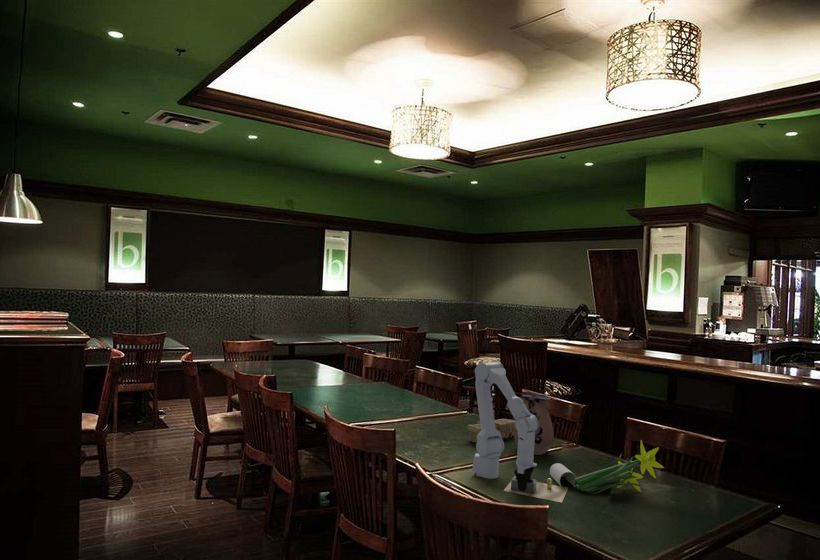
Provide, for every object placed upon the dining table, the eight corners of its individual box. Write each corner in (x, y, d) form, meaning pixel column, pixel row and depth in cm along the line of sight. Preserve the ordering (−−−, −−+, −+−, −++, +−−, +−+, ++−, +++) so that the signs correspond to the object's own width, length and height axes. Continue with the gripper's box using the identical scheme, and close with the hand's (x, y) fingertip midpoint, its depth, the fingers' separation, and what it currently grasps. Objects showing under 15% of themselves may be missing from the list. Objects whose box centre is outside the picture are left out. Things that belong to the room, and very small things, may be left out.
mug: (545, 474, 214) (555, 484, 202) (554, 459, 215) (565, 468, 203) (567, 487, 214) (578, 498, 202) (576, 472, 215) (588, 482, 203)
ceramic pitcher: (508, 453, 246) (511, 396, 246) (521, 442, 264) (524, 390, 265) (547, 460, 237) (550, 402, 238) (558, 449, 256) (561, 395, 256)
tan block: (504, 434, 281) (466, 441, 261) (505, 418, 281) (467, 423, 262) (516, 438, 275) (479, 445, 255) (517, 421, 276) (480, 427, 256)
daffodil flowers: (561, 486, 209) (637, 458, 219) (584, 519, 198) (663, 489, 208) (567, 457, 200) (647, 430, 210) (592, 491, 188) (675, 460, 198)
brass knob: (546, 489, 199) (546, 478, 199) (547, 487, 200) (547, 477, 200) (551, 490, 198) (551, 479, 198) (552, 488, 199) (552, 478, 199)
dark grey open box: (510, 489, 196) (511, 479, 196) (513, 485, 201) (514, 475, 201) (533, 494, 193) (534, 484, 193) (536, 489, 197) (536, 479, 197)
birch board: (503, 494, 194) (503, 490, 195) (513, 481, 209) (513, 477, 209) (561, 507, 186) (561, 502, 186) (568, 492, 201) (568, 487, 201)
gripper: (533, 457, 189) (530, 497, 188) (540, 446, 202) (538, 484, 202) (512, 453, 191) (510, 492, 191) (521, 443, 205) (519, 480, 205)
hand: (523, 488), depth 197 cm, fingers closed on dark grey open box, 5 cm apart
